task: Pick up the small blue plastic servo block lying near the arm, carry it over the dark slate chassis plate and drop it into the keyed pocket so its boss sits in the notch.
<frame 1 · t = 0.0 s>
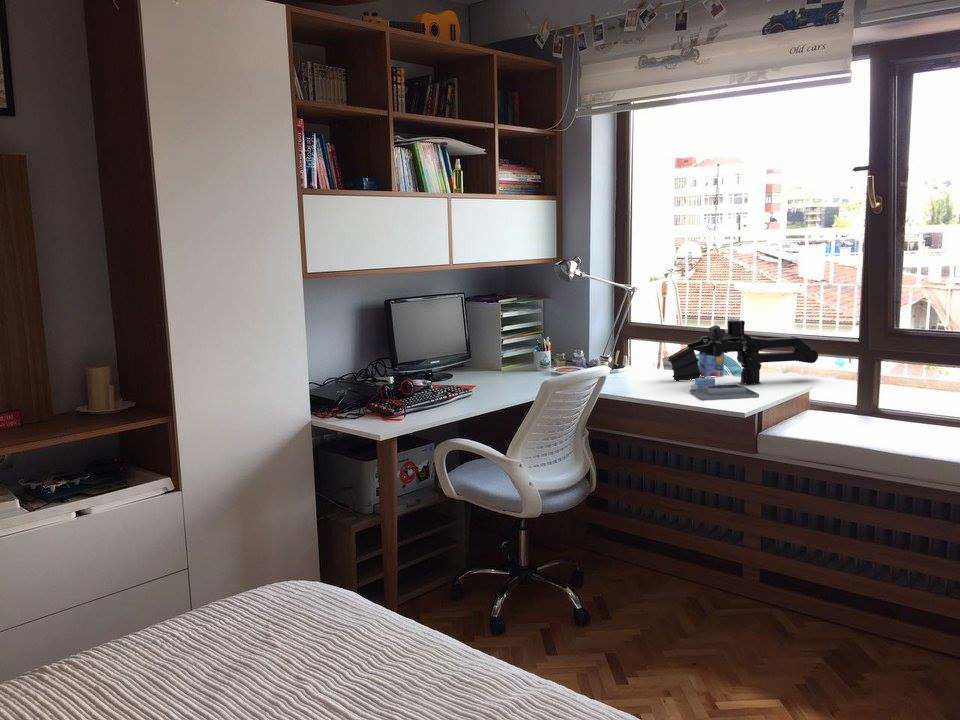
hand: (690, 347, 335), 17 cm above the table, tool horizontal, fingers open, 9 cm apart
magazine: (684, 381, 352), on the table
ink cartridge box: (711, 376, 358), on the table
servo: (705, 389, 330), on the table
chassis: (727, 394, 318), on the table
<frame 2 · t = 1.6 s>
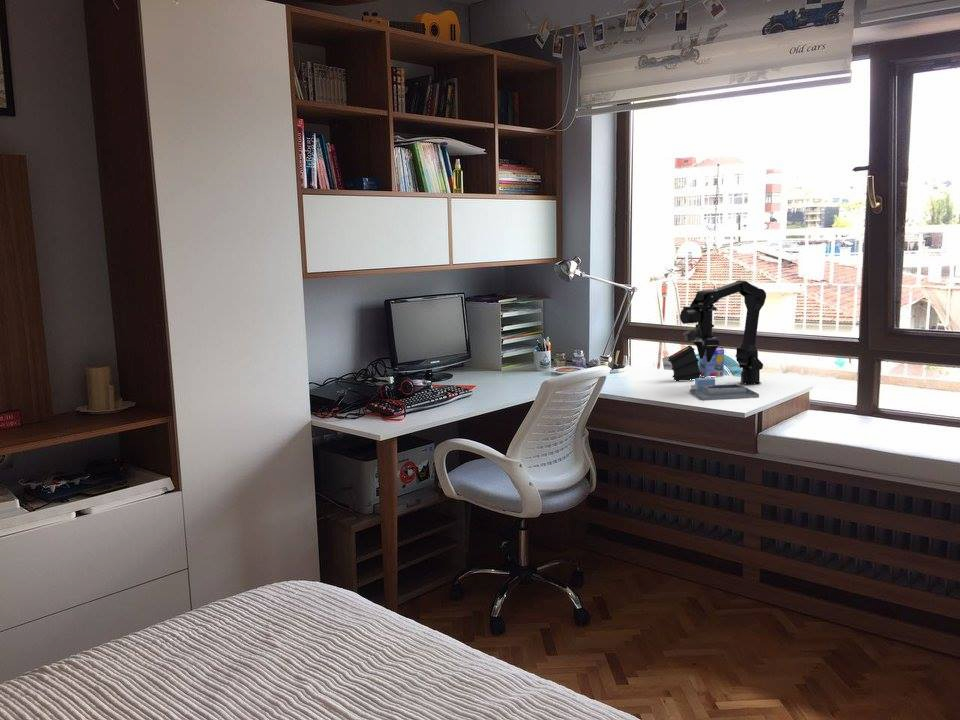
hand: (704, 360, 328), 12 cm above the table, tool pointing down, fingers open, 9 cm apart
nothing on the table moved.
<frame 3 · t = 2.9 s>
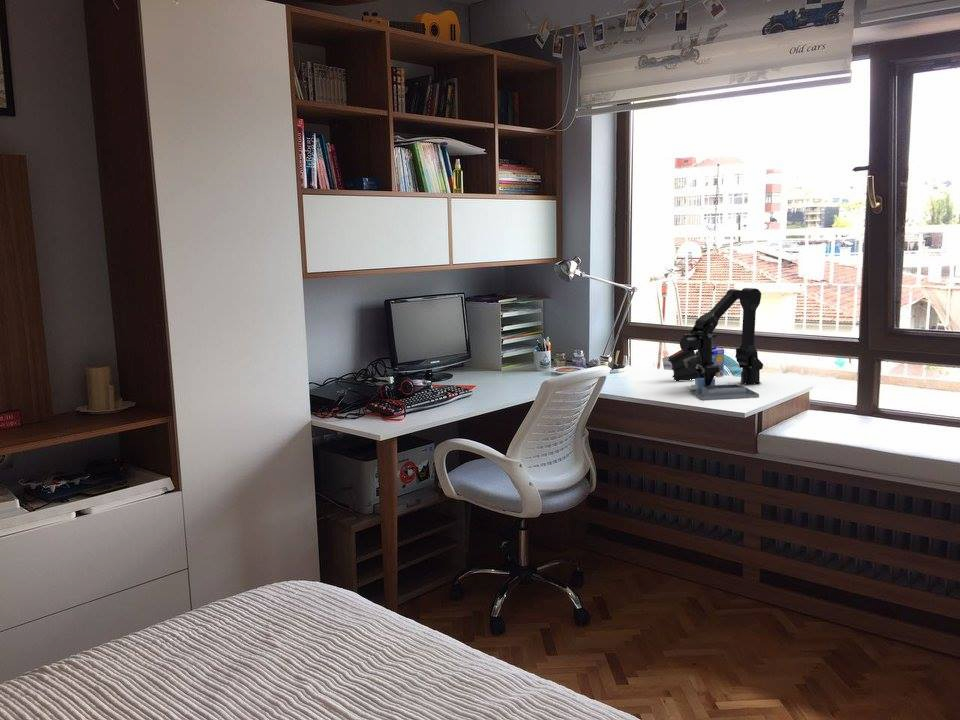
hand: (705, 387, 330), 1 cm above the table, tool pointing down, fingers open, 5 cm apart
nothing on the table moved.
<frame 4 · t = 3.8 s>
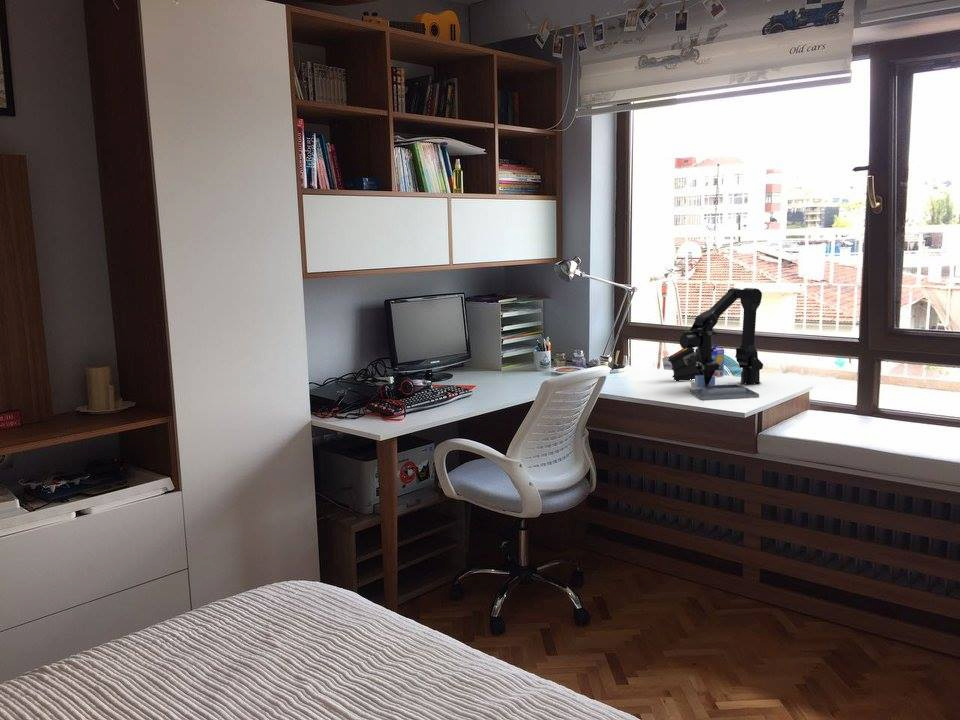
hand: (704, 384, 330), 2 cm above the table, tool pointing down, fingers closed on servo, 4 cm apart
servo: (705, 386, 330), point 1 cm above the table, touching gripper
everything else where it was.
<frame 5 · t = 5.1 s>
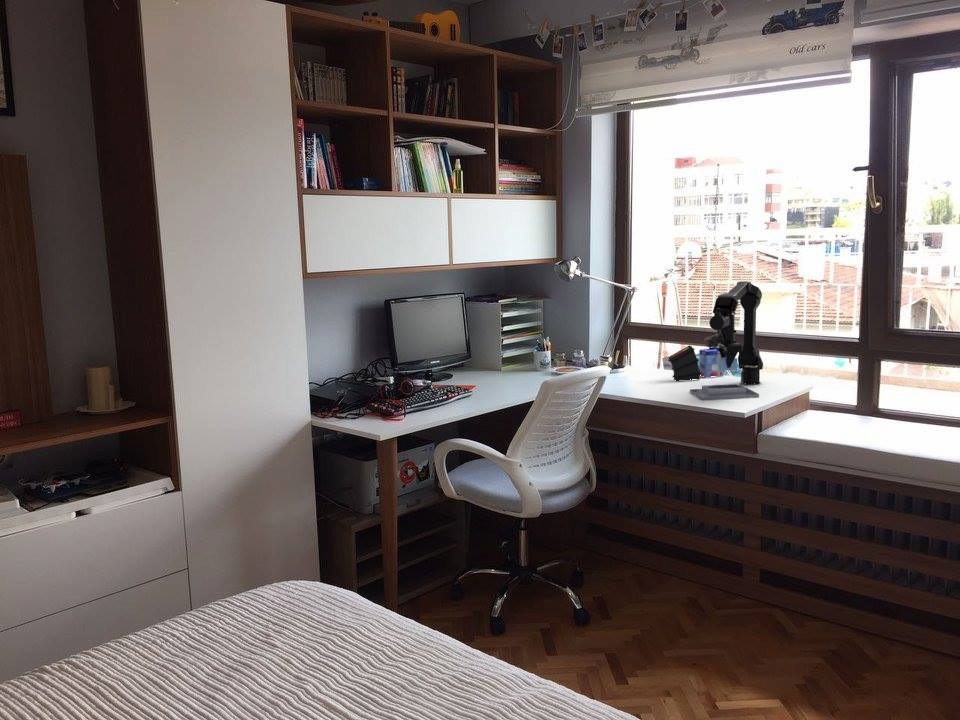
hand: (726, 366, 317), 11 cm above the table, tool pointing down, fingers closed on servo, 4 cm apart
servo: (726, 369, 317), point 10 cm above the table, touching gripper
everything else where it was.
when the fingers open (5 cm above the table, at t = 6.9 s): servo drops 3 cm, resting on chassis.
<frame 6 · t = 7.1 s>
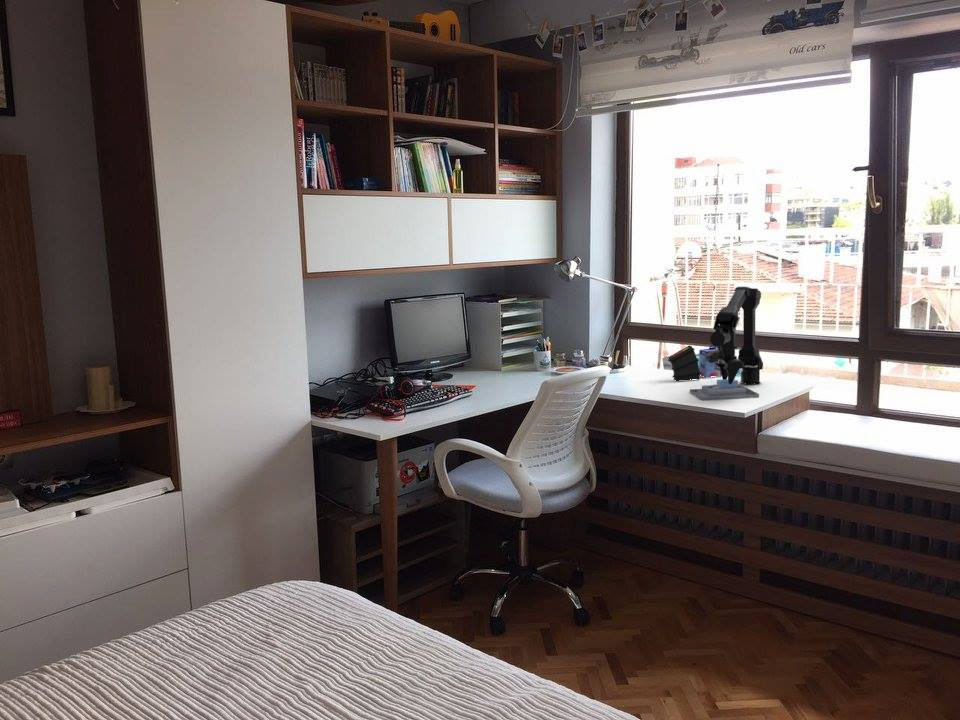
hand: (727, 382, 318), 5 cm above the table, tool pointing down, fingers open, 6 cm apart
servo: (727, 391, 318), point 1 cm above the table, touching chassis
everything else where it was.
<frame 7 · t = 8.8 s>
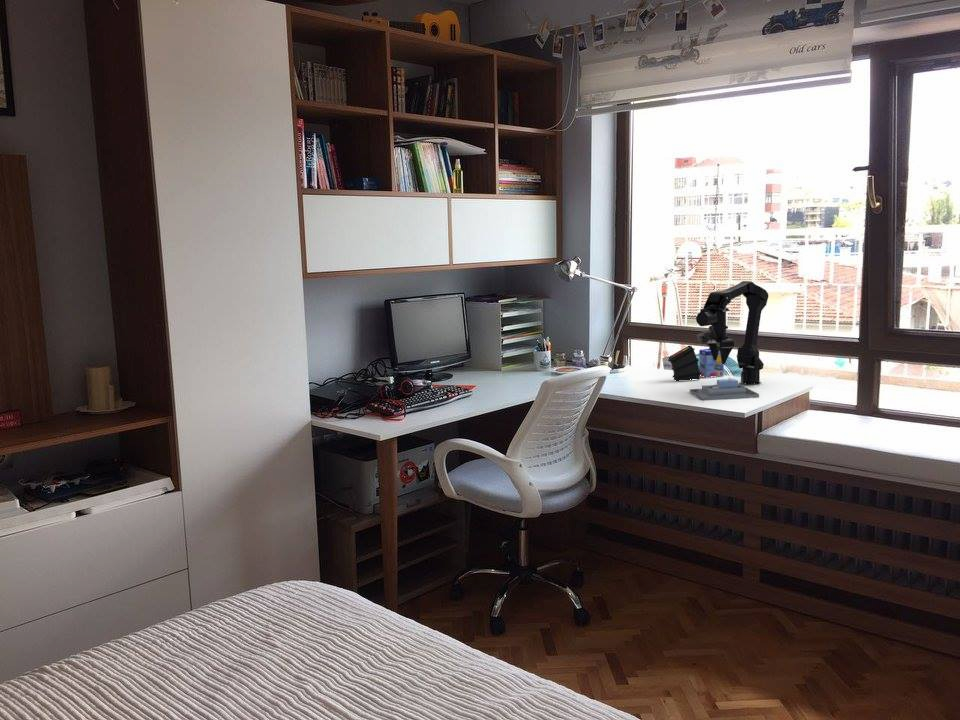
hand: (719, 362, 325), 12 cm above the table, tool pointing down, fingers open, 9 cm apart
nothing on the table moved.
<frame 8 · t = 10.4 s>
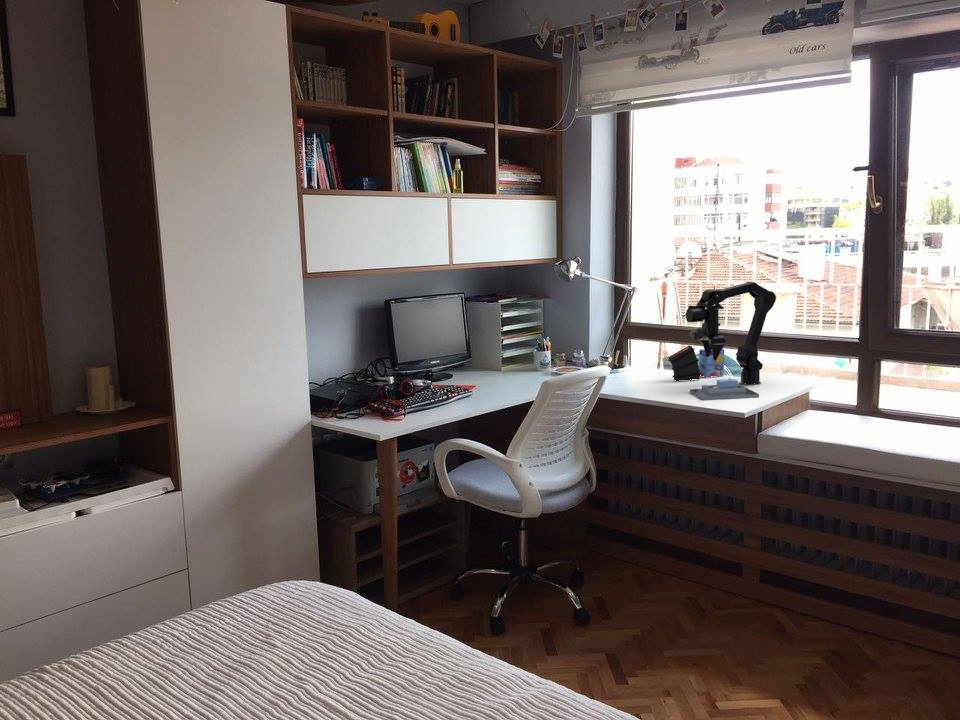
hand: (711, 358, 332), 12 cm above the table, tool pointing down, fingers open, 9 cm apart
nothing on the table moved.
at the end: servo 0.2 cm off-centre on the chassis, point 1.2 cm above the chassis's base; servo tilted 0°; the gripper is holding nothing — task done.
